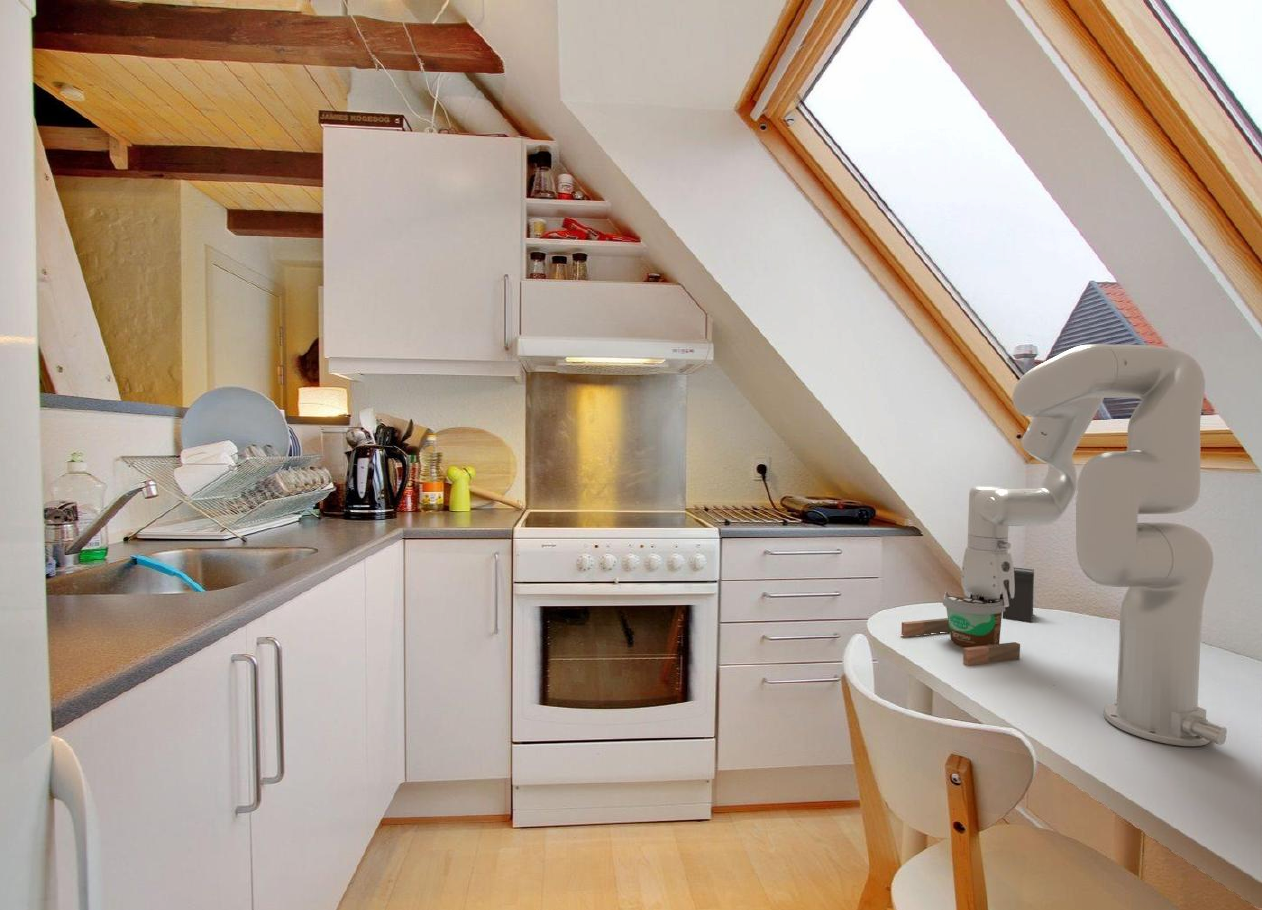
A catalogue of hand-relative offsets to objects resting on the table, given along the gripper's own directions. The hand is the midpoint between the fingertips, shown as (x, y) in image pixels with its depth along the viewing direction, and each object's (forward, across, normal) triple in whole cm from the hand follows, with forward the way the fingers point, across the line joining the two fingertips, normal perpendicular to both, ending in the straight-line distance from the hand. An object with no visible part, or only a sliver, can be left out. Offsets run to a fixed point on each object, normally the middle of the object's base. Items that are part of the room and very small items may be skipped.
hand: (984, 628), depth 135 cm
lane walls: (+3, 0, +7) cm, 8 cm away
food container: (+3, -1, +5) cm, 6 cm away
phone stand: (+4, +14, -25) cm, 29 cm away
